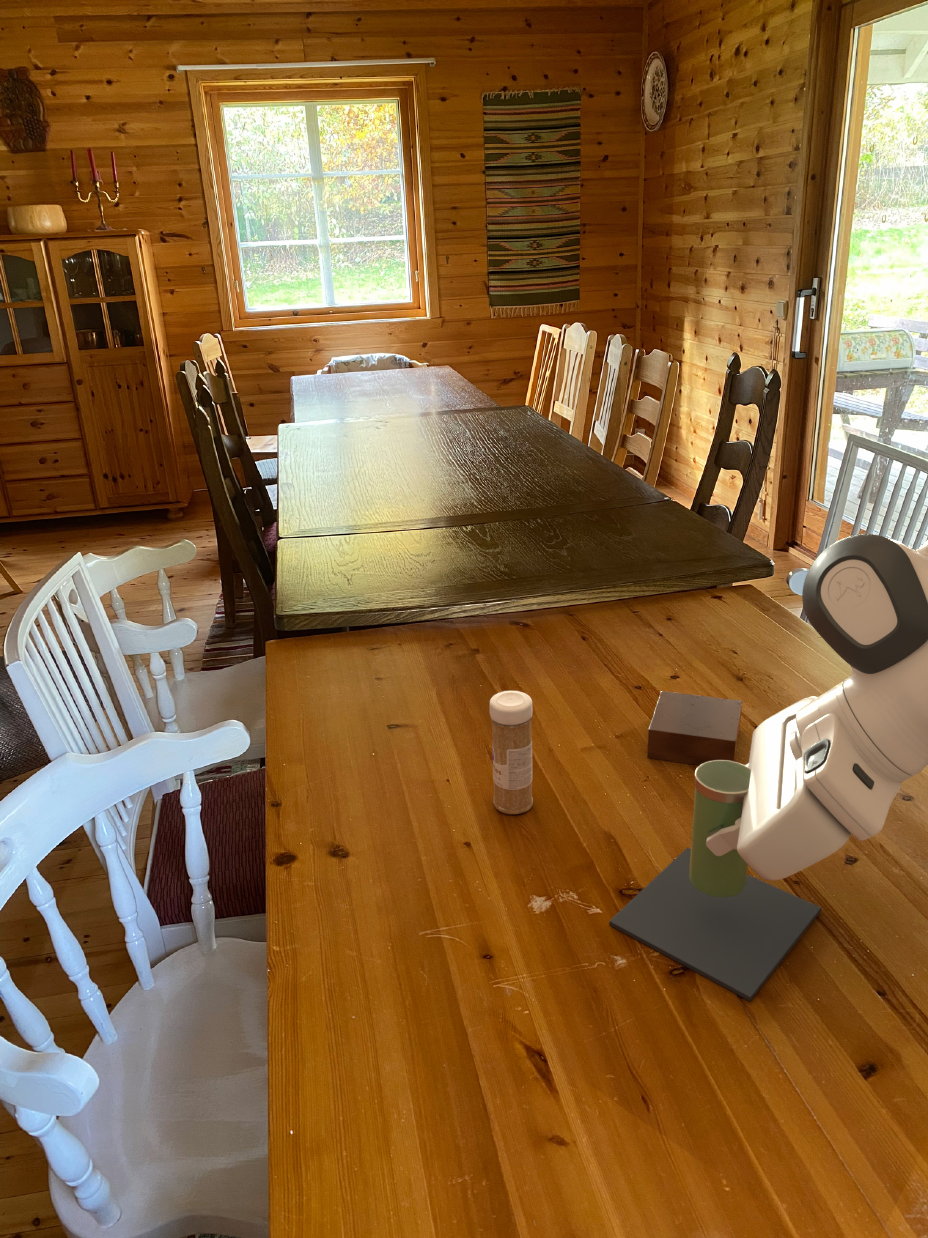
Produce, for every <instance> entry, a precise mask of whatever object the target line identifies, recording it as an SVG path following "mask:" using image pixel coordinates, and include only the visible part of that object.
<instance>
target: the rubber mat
mask: <svg viewBox="0 0 928 1238" xmlns="http://www.w3.org/2000/svg"><path fill="white" fill-rule="evenodd" d="M690 854H691V847H686V848H685V849H684V850H683V851H682V852H681V853H680V854H679V855H678V856H677V857H675V858H674V860H672V861H671V862H670V863H669V864H668V865H667V866H666V867H665V868H664V869H663V870H662V871H661V872H659V874H658V875H656V876H655V877H654V878H653V879H652V880H651V881H650V882H649V883H648V884H647V885H646V886H645V887H644V888H643V889H642V890H640V892H638V893H637V894H636V895H635V896H634V897H633V898H632V899H631V900H630V901H629V902H628V903H627V904H626V905H625V906H623V908H621V910H619V911H618V912H617V913H616V914H615V915H614V916H613V917H612V918H611V919H610V920H609V921H608V922H609V923H608V924H609V926H610V927H612V928H613V929H616V930H617V931H620V932H621V933H623V934H625V935H627V936H628V937H631V938H632V939H634V940H636V941H638V942H640V943H642V944H643V945H645V946H646V947H649V948H651V949H652V950H655V951H656V952H658V953H660V954H662V955H664V956H665V957H667V958H670V959H671V960H672V961H675V962H676V963H678V964H681V965H682V966H684V967H686V968H688V969H689V970H691V971H693V972H694V973H697V974H699V975H700V976H702V977H704V978H705V979H708V980H709V981H711V982H713V983H715V984H717V985H718V986H720V987H722V988H724V989H726V990H728V991H730V992H732V993H733V994H736V995H737V996H739V997H741V998H742V999H744V1000H746V1001H748V1002H751V1001H752V1000H753V999H754V998H755V996H756V995H757V993H758V992H759V991H760V990H761V989H762V987H763V986H764V985H765V983H766V982H767V981H768V980H769V978H770V977H771V976H772V975H773V973H774V972H775V971H776V969H777V968H778V967H779V966H780V964H781V963H782V962H783V961H784V959H785V958H786V957H787V955H788V954H789V953H790V952H791V951H792V949H793V948H794V946H795V945H796V944H797V943H798V942H799V940H800V939H801V938H802V937H803V936H804V934H805V933H806V931H807V930H808V929H809V927H811V925H812V924H813V922H815V920H816V919H817V917H818V916H819V915H820V913H821V912H822V907H821V906H819V905H816V904H815V903H813V902H810V901H808V900H805V899H803V898H801V897H799V896H797V895H794V894H792V893H790V892H788V891H786V890H784V889H781V888H779V887H776V886H774V885H772V884H770V883H767V882H766V881H763V880H761V879H759V878H757V877H755V876H752V875H750V874H748V873H747V879H746V886H745V888H744V890H743V891H742V892H741V893H739V894H737V895H735V896H731V897H714V896H710V895H707V894H705V893H703V892H701V891H699V890H698V889H697V888H695V887H694V886H693V884H692V883H691V881H690V878H689V868H690Z"/></svg>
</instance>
